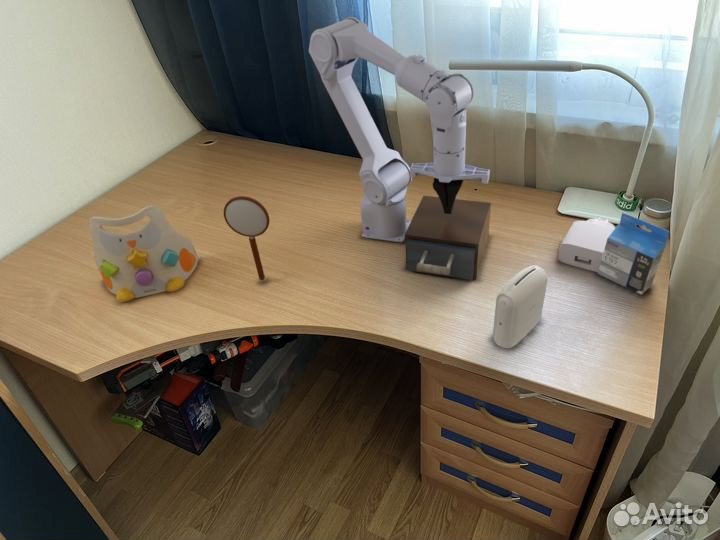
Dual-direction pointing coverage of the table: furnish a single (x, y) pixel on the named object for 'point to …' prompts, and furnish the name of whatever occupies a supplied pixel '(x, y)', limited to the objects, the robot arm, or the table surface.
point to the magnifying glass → (248, 223)
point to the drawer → (440, 258)
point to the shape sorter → (142, 255)
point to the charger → (585, 243)
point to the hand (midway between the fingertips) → (448, 211)
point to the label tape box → (633, 254)
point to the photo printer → (519, 306)
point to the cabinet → (452, 225)
